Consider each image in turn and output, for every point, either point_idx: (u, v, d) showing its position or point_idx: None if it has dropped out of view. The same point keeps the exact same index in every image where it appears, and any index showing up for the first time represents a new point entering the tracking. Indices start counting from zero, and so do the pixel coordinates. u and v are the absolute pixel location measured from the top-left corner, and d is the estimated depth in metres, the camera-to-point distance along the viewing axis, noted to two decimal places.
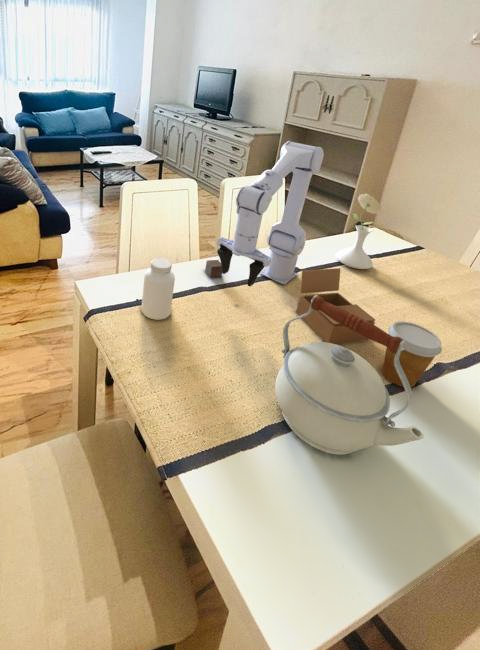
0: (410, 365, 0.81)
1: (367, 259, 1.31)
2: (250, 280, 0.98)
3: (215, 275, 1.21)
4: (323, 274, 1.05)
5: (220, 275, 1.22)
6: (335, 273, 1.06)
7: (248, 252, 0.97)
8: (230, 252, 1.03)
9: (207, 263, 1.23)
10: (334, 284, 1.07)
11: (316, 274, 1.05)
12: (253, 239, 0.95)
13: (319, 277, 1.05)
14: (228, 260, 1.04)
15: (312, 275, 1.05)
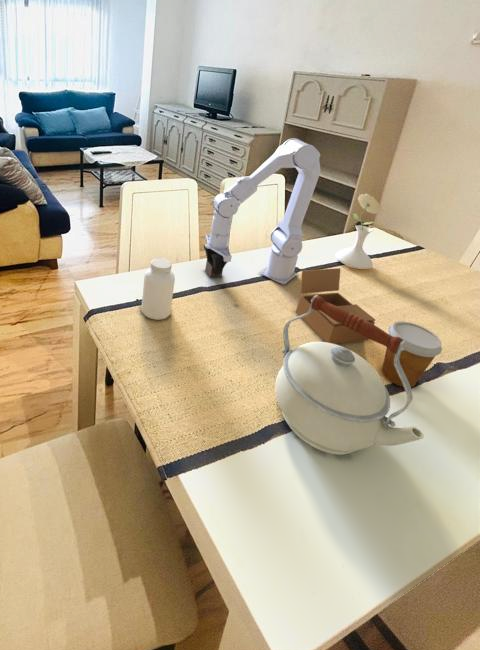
0: (410, 365, 0.81)
1: (367, 259, 1.31)
2: (214, 269, 1.20)
3: (215, 275, 1.21)
4: (323, 274, 1.05)
5: (220, 275, 1.22)
6: (335, 273, 1.06)
7: (216, 247, 1.17)
8: None
9: (207, 263, 1.23)
10: (334, 284, 1.07)
11: (316, 274, 1.05)
12: (220, 237, 1.16)
13: (319, 277, 1.05)
14: None
15: (312, 275, 1.05)
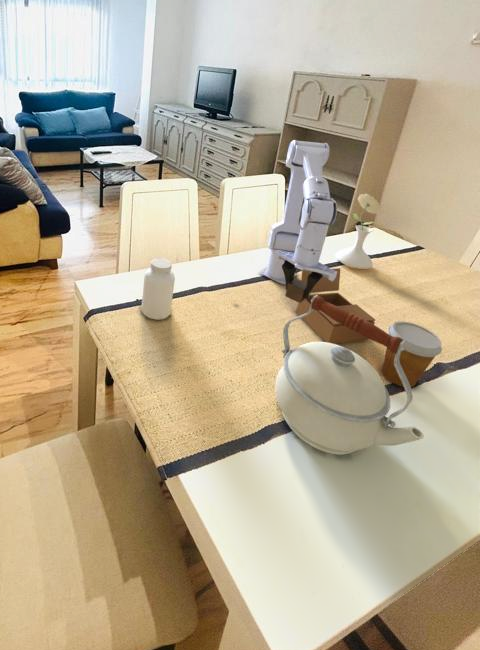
0: (410, 365, 0.81)
1: (367, 259, 1.31)
2: (307, 292, 0.96)
3: (303, 298, 0.98)
4: None
5: None
6: None
7: (312, 266, 0.93)
8: (295, 267, 0.99)
9: (291, 286, 0.98)
10: (334, 284, 1.07)
11: None
12: (318, 252, 0.92)
13: None
14: (292, 275, 1.00)
15: None
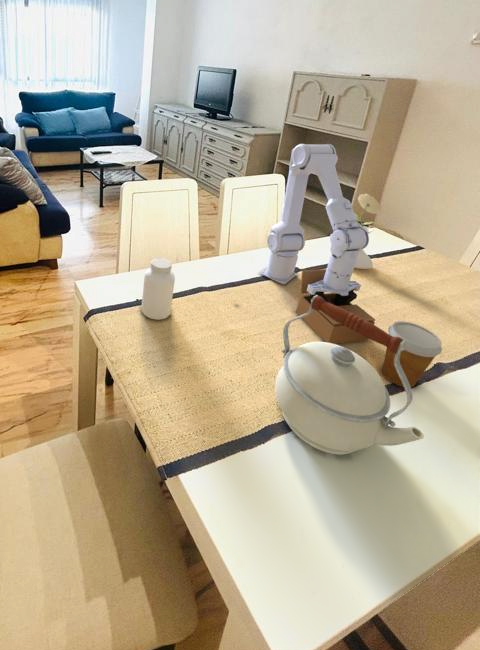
0: (410, 365, 0.81)
1: (367, 259, 1.31)
2: None
3: None
4: (323, 274, 1.05)
5: None
6: None
7: None
8: None
9: None
10: None
11: (316, 274, 1.05)
12: None
13: (319, 277, 1.05)
14: None
15: (312, 275, 1.05)
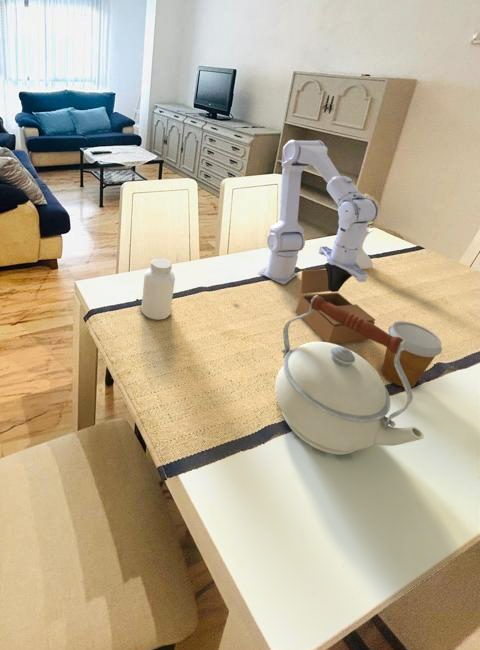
0: (410, 365, 0.81)
1: (367, 259, 1.31)
2: (332, 285, 1.00)
3: None
4: (323, 274, 1.05)
5: None
6: None
7: (343, 264, 0.95)
8: None
9: None
10: None
11: (316, 274, 1.05)
12: (350, 251, 0.94)
13: (319, 277, 1.05)
14: None
15: (312, 275, 1.05)
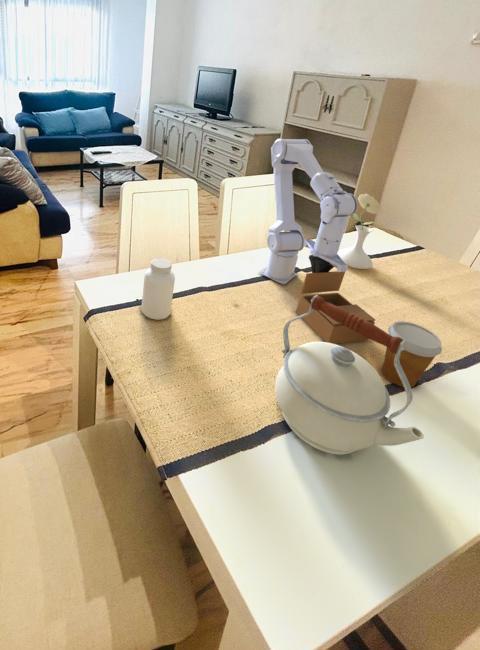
0: (410, 365, 0.81)
1: (367, 259, 1.31)
2: None
3: None
4: (327, 276, 1.04)
5: None
6: (339, 275, 1.05)
7: (325, 255, 1.01)
8: None
9: None
10: (335, 285, 1.06)
11: (320, 277, 1.04)
12: (332, 243, 0.99)
13: (322, 279, 1.04)
14: None
15: (316, 277, 1.03)
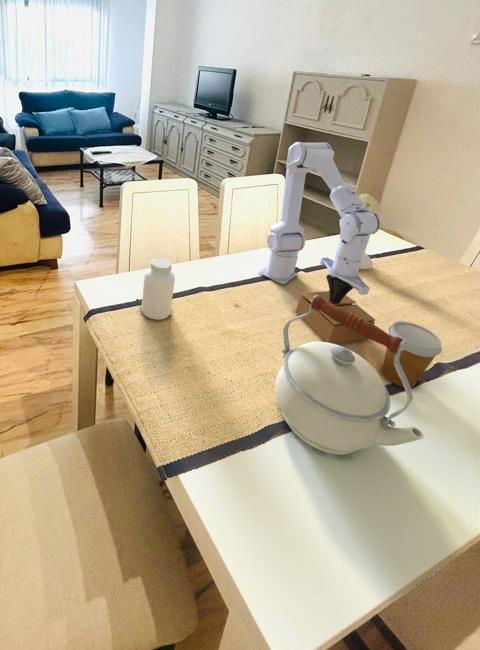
0: (410, 365, 0.81)
1: (367, 259, 1.31)
2: (333, 297, 0.99)
3: None
4: None
5: None
6: None
7: (345, 276, 0.95)
8: None
9: None
10: None
11: None
12: (352, 263, 0.93)
13: None
14: None
15: None
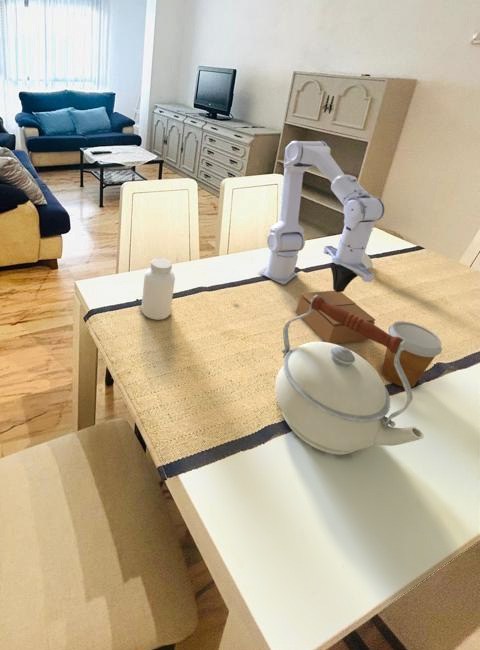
0: (410, 365, 0.81)
1: (367, 259, 1.31)
2: (337, 285, 0.98)
3: None
4: None
5: None
6: None
7: (349, 263, 0.94)
8: None
9: None
10: None
11: None
12: (356, 250, 0.92)
13: None
14: None
15: None
